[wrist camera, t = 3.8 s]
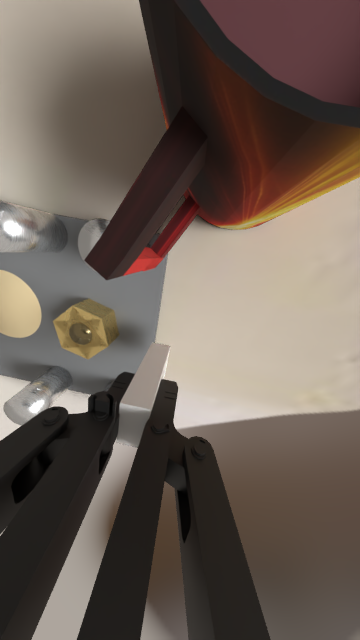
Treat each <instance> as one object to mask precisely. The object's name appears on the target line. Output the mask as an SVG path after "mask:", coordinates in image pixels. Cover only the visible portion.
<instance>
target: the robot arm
mask: <svg viewBox="0 0 360 640" xmlns="http://www.w3.org/2000/svg"><path fill="white" fill-rule="evenodd" d="M169 351H170V346H168V345H163V344H159V343H154V342H152V344H151V345H150V347H149V349H148V351H147V353H146V355H145V357H144V359H143V360H142V362H141V364H140V366H139V368H138V370H137V372H136V374H134V373H129V372H122V373H121V374H119V375H118V376H117V378H116V379H115V381H114V382H113V384H112V385H111V387H110V388H109V390H108V391H101V392H97V393H95V394H92V395H91V396H90V397H89V398H88V412H85V413H79V414H68V411H67V410H66V409H65V408H63V407H51V408H48V409H45V410H44V411H42V412H40V413H39V414H37V415H36V416H35V417H33V418H32V419H30V420H29V421H28V422H26V423H25V424H23V425H22V426H21V427H19V428H18V429H16V430H15V431H14V432H12V433H11V434H10V435H8V436H7V437H5V438H4V439H3V440H1V441H0V534H1V533H2V532H3V530H4V529H5V528H6V527H7V528H6V529H5V531H4V532H3V534H2V535H1V536H0V640H31V639H32V637H33V634H34V632H35V630H36V627H37V625H38V622H39V620H40V618H41V616H42V613H43V611H44V609H45V607H46V604H47V602H48V600H49V597H50V595H51V592H52V590H53V588H54V586H55V583H56V581H57V579H58V576H59V574H60V572H61V570H62V567H63V565H64V563H65V560H66V558H67V556H68V554H69V551H70V549H71V547H72V544H73V542H74V540H75V537H76V535H77V532H78V531H79V528H80V526H81V524H82V521H83V519H84V517H85V514H86V512H87V510H88V507H89V505H90V503H91V500H92V498H93V496H94V494H95V491H96V489H97V487H98V484H99V482H100V480H101V478H102V475H103V473H104V471H105V468H106V466H107V464H108V461H109V459H110V457H111V454H112V450H113V444H114V442H115V440H116V438H117V441H116V442H117V443H119V444H123V445H128V446H132V447H137V448H138V449H137V452H136V455H135V459H134V462H133V465H132V468H131V471H130V474H129V477H128V481H127V484H126V487H125V490H124V493H123V496H122V499H121V503H120V506H119V509H118V513H117V515H116V518H115V522H114V525H113V528H112V531H111V534H110V537H109V540H108V543H107V546H106V550H105V553H104V556H103V559H102V562H101V565H100V568H99V572H98V575H97V578H96V581H95V584H94V587H93V590H92V594H91V597H90V600H89V603H88V606H87V609H86V612H85V616H84V619H83V622H82V625H81V628H80V632H79V635H78V638H77V640H140V637H141V630H142V624H143V617H144V611H145V604H146V598H147V591H148V585H149V578H150V572H151V565H152V559H153V552H154V546H155V538H156V533H157V526H158V520H159V513H160V507H161V500H162V494H163V487H164V481H166V482H167V483H168V484H170V485H171V486H172V487H174V488H175V498H176V509H177V519H178V530H179V541H180V552H181V562H182V573H183V584H184V594H185V605H186V616H187V626H188V637H189V640H270V636H269V633H268V630H267V626H266V623H265V620H264V616H263V613H262V610H261V607H260V604H259V600H258V597H257V593H256V590H255V587H254V584H253V580H252V577H251V573H250V570H249V567H248V564H247V560H246V557H245V553H244V550H243V547H242V543H241V540H240V537H239V534H238V530H237V527H236V524H235V520H234V517H233V514H232V510H231V507H230V504H229V500H228V497H227V494H226V490H225V487H224V484H223V480H222V477H221V474H220V470H219V467H218V464H217V460H216V457H215V454H214V450H213V449H212V446H211V444H210V443H209V442H208V441H207V440H205V439H203V438H202V437H197V436H195V437H191V438H190V439H188V438H186V437H184V436H182V435H181V434H180V433H179V432H178V431H177V430H176V429H175V427H174V423H173V419H174V412H175V406H176V399H177V393H178V386H177V383H176V382H174V381H169V380H164V377H165V373H166V367H167V362H168V356H169Z"/></svg>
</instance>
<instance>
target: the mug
mask: <svg viewBox="0 0 360 640" xmlns="http://www.w3.org/2000/svg"><path fill="white" fill-rule="evenodd" d="M139 3H140V8H141V12H142V17H143V21H144V26H145V31H146V35H147V40H148V45H149V49H150V54H151V59H152V63H153V68H154V73H155V77H156V82H157V87H158V91H159V96H160V100H161V105H162V110H163V114H164V119H165V124H166V128H167V131H166V133H165V134H164V136H163V137H162V139H161V141H160V142H159V144H158V145H157V147H156V149H155V150H154V152H153V153H152V155H151V157H150V158H149V160H148V162H147V163H146V165H145V166H144V168H143V170H142V171H141V173H140V174H139V176H138V178H137V179H136V181H135V182H134V184H133V186H132V187H131V189H130V190H129V192H128V194H127V195H126V197H125V198H124V200H123V202H122V203H121V205H120V207H119V208H118V210H117V211H116V213H115V215H114V216H113V218H112V219H111V221H110V223H109V224H108V226H107V227H106V229H105V231H104V232H103V234H102V235H101V237H100V239H99V240H98V241H97V243H96V244H95V246H94V247H93V248H92V250H91V251H90V253H89V254H88V255H87V257H86V258H85V260H84V261H85V262H86V263H87V264H89V265H90V266H91V267H92V268H93V269H94V270H95V271H96V272H97V273H99V274H100V275H101V276H102V277H103V278H104V279H105V280H110V279H114V278H117V277H121V276H125V275H129V274H132V273H136V272H140V271H147V270H150V269H154V268H156V267H157V265H158V264H159V263H160V262H161V261H162V260H163V258H164V257H165V256H166V255H167V253H168V252H169V251H170V249H171V248H172V247H173V245H174V244H175V243H176V242H177V240H178V239H179V238H180V236H181V235H182V234H183V232H184V231H185V230H186V229H187V227H188V226H189V225H190V223H191V222H192V221H193V220H194V218H195V217H196V216H197V214H198V215H199V216H200V217H202V218H203V219H204V220H206V221H207V222H209V223H211V224H213V225H215V226H218V227H220V228H226V229H231V230H237V229H248V228H252V227H256V226H259V225H261V224H263V223H265V222H267V221H269V220H272V219H274V218H276V217H278V216H280V215H282V214H284V213H286V212H288V211H290V210H292V209H294V208H296V207H299V206H301V205H303V204H305V203H307V202H309V201H311V200H313V199H315V198H317V197H319V196H321V195H323V194H325V193H328V192H330V191H332V190H334V189H336V188H338V187H340V186H342V185H344V184H346V183H348V182H350V181H352V180H355V179H357V178H359V177H360V0H139ZM183 195H184V197H185V199H186V200H185V201H184V203H183V204H182V205H181V207H180V208H179V210H178V211H177V212H176V214H175V215H174V216H173V218H172V219H171V221H170V222H169V223H168V225H167V226H166V227H165V229H164V230H163V232H162V233H161V234H160V236H159V237H158V238H157V240H156V241H155V242H154V244H153V245H152V247H151V248H147V247H146V246H147V244H148V243H149V241H150V240H151V239H152V237H153V236H154V235H155V233H156V232H157V230H158V229H159V228H160V226H161V225H162V223H163V222H164V221H165V219H166V218H167V216H168V215H169V214H170V212H171V211H172V209H173V208H174V207H175V205H176V204H177V203H178V201H179V200H180V198H181V197H182V196H183Z"/></svg>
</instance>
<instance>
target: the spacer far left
mask: <svg viewBox="0 0 360 640" xmlns="http://www.w3.org/2000/svg"><path fill="white" fill-rule="evenodd" d="M72 382H73V378H72V376H71V374H70V373H69V371H67V370H66V369H65V368H63V367H60V366H53V367H50V368H49V369H48V370H47V371H45V372H44V373H43V374H41V375H40V376H39V377H38V378H36V379H35V380H34V381H32V382H31V383H30V384H29V385H27V386H26V387H25V388H23V389H22V390H21V391H20V392H18V393H17V394H16V395H14V396H13V397H12V398H11V399H9V400H8V401H7V402H6V403H5V404H4V412H5V414H6V415H7V417H8V418H9V419H10V420H12V421H13V422H14V423H16V424H19V425H23V424H25V423H26V422H28V421H29V420H30V419H32V418H33V417H35V416H36V415H37V414H39V413H40V412H42V411H44V410H45V409H48V408H50V407H51V406H52V405H53V404H54V403H55V401H56V400H57V399H58V398H59V397H60V396H61V395H62V394H63V393H64V392H65V391H66V390H67V389H68V388H69V387H70V386H71V385H72Z"/></svg>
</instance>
